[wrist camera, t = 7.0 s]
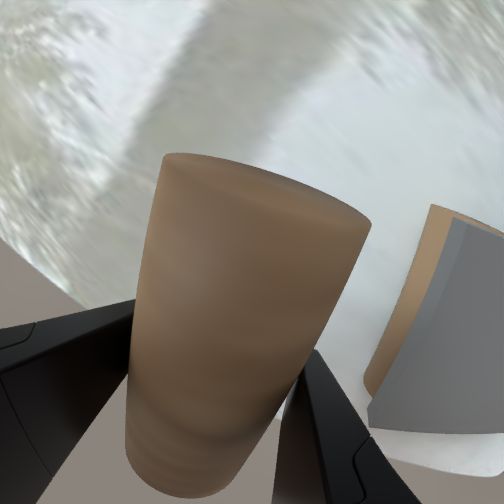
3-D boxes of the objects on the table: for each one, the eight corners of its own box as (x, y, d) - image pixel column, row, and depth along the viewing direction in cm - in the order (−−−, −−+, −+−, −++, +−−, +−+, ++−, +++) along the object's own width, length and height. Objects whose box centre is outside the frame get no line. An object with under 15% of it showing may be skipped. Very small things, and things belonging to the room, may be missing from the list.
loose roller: (355, 203, 7) (395, 255, 4) (249, 428, 11) (224, 514, 7) (205, 151, 8) (117, 157, 4) (152, 390, 11) (105, 464, 7)
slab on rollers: (558, 256, 12) (608, 290, 7) (498, 379, 15) (526, 431, 10) (419, 198, 13) (467, 224, 8) (360, 357, 16) (368, 427, 11)
